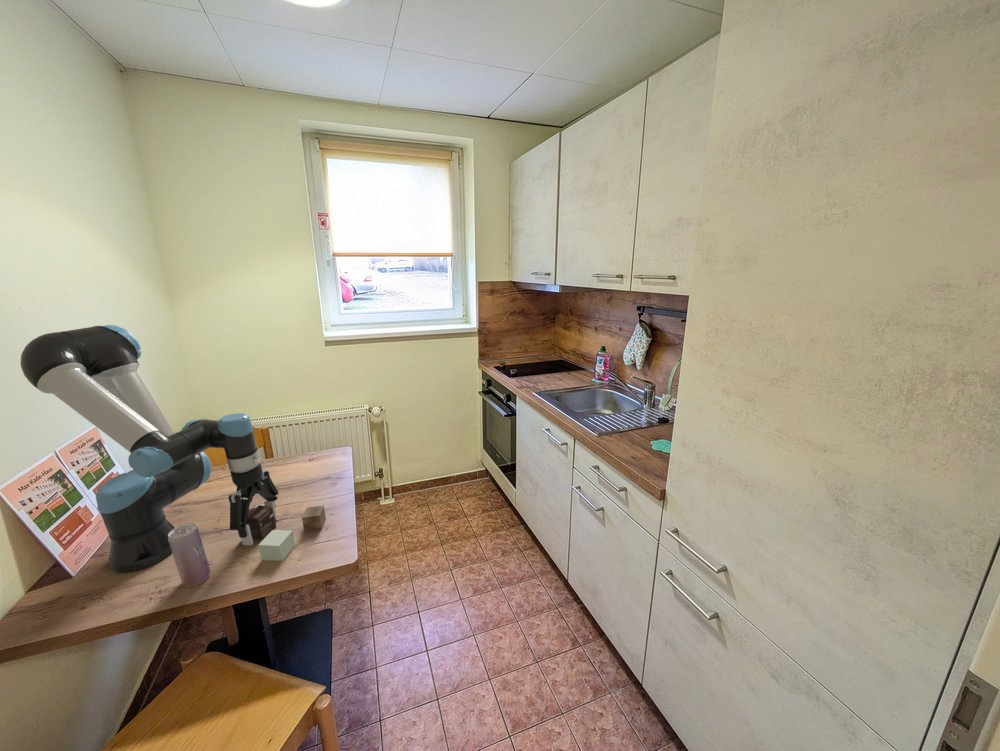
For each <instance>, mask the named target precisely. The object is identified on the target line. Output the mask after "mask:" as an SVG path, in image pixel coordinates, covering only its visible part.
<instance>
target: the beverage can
mask: <svg viewBox="0 0 1000 751" xmlns="http://www.w3.org/2000/svg"><path fill="white" fill-rule="evenodd" d="M168 542H169V545H170V548H171V551H172V553H171V554H172V556H173V560H174V563H175V566H176V568H177V572H178V574H179V578H180V581H181V585H183V586H184V587H188V588H189V587H190V588H191V587H195V586H198V585H201V584H202V583H204V582H206V580H208V578H209V576H210V574H211V568H210V564H209V560H208V557H207V553H206V550H205V546H204V544H203V540H202V537H201V533H200V530H199V528H198V526H197V524H196V523H194V522H188V523H184V524H180V525H177V526H176V527H175V528H174V529H173V530H171V531H170V532H169V533H168Z"/></svg>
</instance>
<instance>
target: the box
mask: <svg viewBox="0 0 1000 751" xmlns="http://www.w3.org/2000/svg"><path fill="white" fill-rule="evenodd" d="M246 525H249V527H250V531H251V535H252V539H257V540H263V539H264V538H265V537H266V536H267V535H268V534H269V533H270V532H271V531H272V530H275V529H276V528H277V523H276V520H275V518H274V514H273V510H272V507H270V506H265V505H259V504H257V505H256V504H255V505H254V506H253V507H251V508H249V512H248V518H247V524H246Z"/></svg>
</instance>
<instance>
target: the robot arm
mask: <svg viewBox="0 0 1000 751" xmlns="http://www.w3.org/2000/svg"><path fill="white" fill-rule="evenodd" d="M141 355H142V351H141V345H140V343H139V341H138V340H137V338H136V337H135V336H134V334H133V333H131V332H130V331H129V330H128V329H126V328H124V327H121V326H119V325H115V324H109V325H108V324H106V325H94V326H88V327H83V328H78V329H77V328H76V329H71V330H65V331H55V332H49V333H48V332H47V333H45V334H41V335H39V336H37V337H36V338H33V339H32V340H31V341H30V342H28V343H27V344H26V345H25V347H24V349H23V351H22V352H21V355H20V367H21V371H22V372H23V375H24V377H25V378H26V379H27V381H28V382H29V383H30V384H31V385H32V386H34V387H35V388H36V389H37V390H39V391H40V392H42V393H44V394H53V396H55V397H56V398H58V399H59V400H60V401H62V402H63V403H64V404H66V406H68V407H69V408H71V409H72V410H74V412H77V414H78V415H79V416H81V417H83V418H84V419H86V420H87V421H88V422H90V423H91V425H93V426H95V427H96V428H97V429H98V430H100V431H101V432H103V433H104V434H105V435H106V436H108V437H109V438H111V439H112V440H113V441H114V442H116V443H118V444H119V446H121V447H122V448H124V449H125V451H127V452H129V453H130V454H129V455H128V459H127V460H128V464H129V467H130V468H132V470H129V471H128V472H122V473H120V474H118V475H116V476H114V477H112V478H110V479H108V480H107V481H106V482H104V483H103V484H102V485H101V486H100V487H99V488H98V490H97V492H96V494H95V501H96V505H97V506H96V507H97V510H98V512H99V513H100V515H101V518H102V521H103V523H104V526H105V528H106V529H105V530H106V531H107V534H108V537H109V539H110V545H109V546H110V547H109V557H108V564H109V566H110V568H111V570H112V571H113V572H114V573H115V572H116V573H130V572H135V571H139V570H142V569H145V568H148V567H151V566H152V565H155V564H158V563H159V562H161V561H162V560H164V559H166V558H168V556H170V555H171V554H172V551H171V548H170V545H169V542H168V533H169V532H170V531H171V530H173V529H174V528H176V527H175V526H174V525H173V524H172V523H171V522H170V521H169V520H168V519H167V517H166V514H165V511H164V508H166V507H167V506H170V505H171V504H173V503H174V502H176V501H177V500H179V499H181V498H183V497H184V496H186V495H187V494H189V493H190V492H193V491H195V490H197V489H199V487H200V486H202V485H203V484H205V483H206V482H208V480H209V479H210V477H211V473H212V468H213V467H212V463H211V459H210V458H209V456H208V455H207V454H206V453H205V452H204V451H206V450H208V449H211V448H212V449H213V448H214V449H223V450H224V452H225V457H226V461H227V465H228V469H229V472H230V473H229V474H230V476H231V482H232V483H233V484H234V485H235V486H236V492H235V493H234V494H229V496H228V501H229V530H230V531H237V533H238V536H239V538H240V539H241V543H242V546H253V545H254V538H252V535H251V531H250V527H249V525H246V524H247V518H248V512H249V509H250V505H251V503H252V502H253V499H254V497H255V496H256V495H257V494H258V495H259V496H260V497H262V498H263V499H264V500H265V501H264V502H263V504H264V505H263V506H270V507H272V510H273V514H274V518H275V521H277V520H278V513H277V508H276V502H275V501H277V500H278V495H279V491H278V489H277V487H276V485H275V484H274V482H273V479H272V478H271V477H270V471H268V470H267V471H266V470H263V467H262V463H261V460H260V459H261V458H260V455H259V451H258V446H257V442H256V436H255V432H254V425H253V423H252V420H251V418H250V416H249V414H247V413H244V412H238V413H229V414H227V415H224V416H222V417H221V418H219V419H218V420H217V419H216V420H215V419H214V420H212V419H208V418H207V419H206V418H205V419H204V418H202V419H193V420H189V421H188V422H186V423H185V424H184V425H183V427H182V428H181V430H180V431H177V432H175V431H174V430H173V428H172V427H171V425H170V423H169V422H168V420H167V419H166V417H165V415H164V414H163V412H162V410H161V409H160V407H159V406H158V404H157V402H156V400H155V399H154V397H153V396H152V394H151V393H150V391H149V390H148V387H147V386H146V384H145V383H144V381H143V380H142V378H141V376H140V375H139V373H138V372H137V371H138V368H139V366H140V363H139V361H138V359H140V358H141Z"/></svg>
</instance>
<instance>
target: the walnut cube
mask: <svg viewBox="0 0 1000 751" xmlns="http://www.w3.org/2000/svg"><path fill="white" fill-rule="evenodd" d="M326 519H327V517H326V512H325V507H324V505H318V506H309V507H308V506H307V507H306V508H305V511H304V512H303V515H302V516H301V521H302V526H303V530H304V532H311V531H319V530H323V528H324V525H325V523H326Z"/></svg>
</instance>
